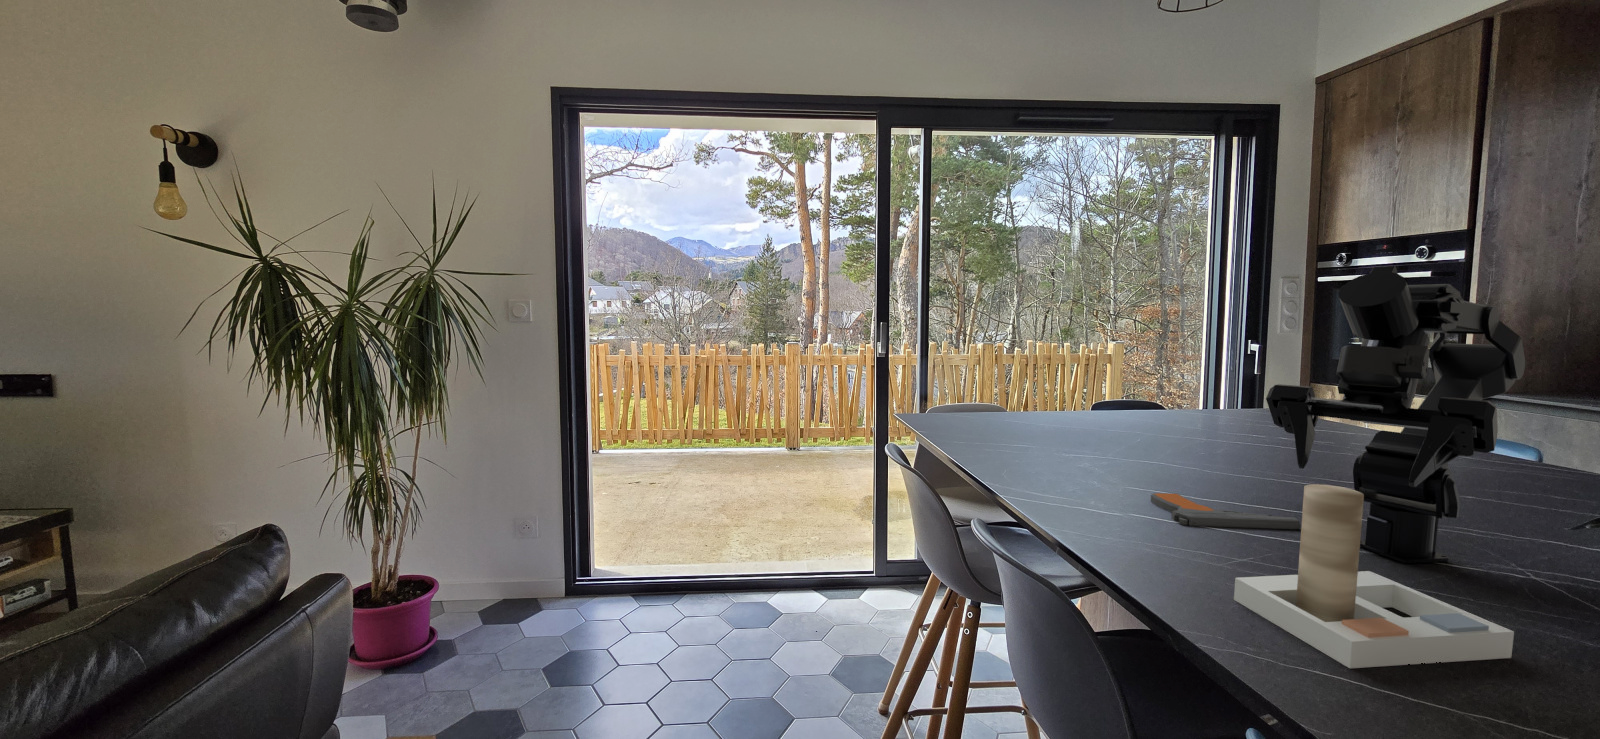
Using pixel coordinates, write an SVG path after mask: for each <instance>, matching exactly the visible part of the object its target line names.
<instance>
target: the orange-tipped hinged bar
mask: <svg viewBox="0 0 1600 739" xmlns="http://www.w3.org/2000/svg"><path fill="white" fill-rule="evenodd" d="M1150 502H1151V503H1152V504H1153V505H1155V506H1156V507H1158V508H1161V509H1162V510H1164V511H1168V512H1169V513H1171V514H1170V515H1171V520H1173V521H1174V522H1176V523H1177V522H1178V524H1180V525H1184V526H1187V525H1188V526H1189V527H1190V526H1191V527H1193V526H1195V527H1214V528H1215V527H1219V528H1220V527H1221V528H1241V529H1242V528H1246V529H1247V528H1248V529H1271V530H1272V529H1273V530H1296V529H1299V530H1301V523H1300V520H1299V519H1298V518H1296V517H1293V516H1275V515H1273V516H1272V514H1268V513H1267V514H1265V513H1264V514H1263V513H1247V512H1243V511H1242V512H1241V511H1234V510H1224V509H1216V508H1212V507H1210V506H1207V505H1204V504H1203V505H1202V504H1199V503H1197V502H1195V501H1192V500H1190V499H1188V498H1186V497H1184V496H1182V495H1181V494H1179V493H1173V492H1172V493H1170V492H1169V493H1168V492H1163V493H1162V492H1157V493H1156V492H1155V493H1152V494H1151V495H1150Z"/></svg>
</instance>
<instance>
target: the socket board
mask: <svg viewBox="0 0 1600 739" xmlns="http://www.w3.org/2000/svg"><path fill="white" fill-rule="evenodd" d="M1297 583H1298V574H1287V575H1286V574H1284V575H1263V576H1244V577H1241V576H1240V577H1235V580H1234V594H1233V600H1234V601H1235V602H1237V603H1239V604H1240V605H1242V606H1244V607H1245V608H1247V609H1249V610H1250V611H1251V612H1254V613H1255V614H1257V615H1259V616H1260V617H1262V618H1264V619H1266V620H1267V621H1269V622H1271V623H1272V624H1274V625H1276V626H1277V627H1279V628H1281V629H1282V630H1284V631H1285V632H1288V633H1289V634H1291V635H1293V636H1294V637H1296V638H1298V639H1299V640H1301V641H1303V642H1304V643H1306V644H1308V645H1310V646H1311V647H1313V648H1314V649H1316V650H1318V651H1320V653H1321V652H1322V653H1323V654H1324V655H1327V656H1328V657H1330V658H1331V659H1333V660H1335V661H1336V662H1338V663H1340V664H1342V665H1343V666H1345V667H1346V668H1348V669H1361V668H1364V669H1365V668H1375V667H1376V668H1377V667H1390V666H1391V667H1393V666H1408V664H1410V665H1422V664H1421V663H1423V664H1424V663H1425V664H1438V663H1439V662H1441V663H1451V662H1452V663H1453V662H1467V661H1468V662H1469V661H1485V660H1498V659H1512V656H1513V654H1512V653H1513V646H1514V637H1515V631H1514V630H1511V629H1509V628H1506V627H1504V626H1502V625H1500V624H1497V623H1495V622H1492V621H1489V620H1487V619H1485V618H1483V617H1480V616H1478V615H1476V614H1473V613H1470V612H1468V611H1465V610H1464V609H1461V608H1459V607H1456V606H1453V605H1452V604H1450V603H1447V602H1444V601H1443V600H1439V599H1437V598H1435V597H1432V596H1430V595H1428V594H1425V593H1423V592H1420V591H1419V590H1416V589H1413V588H1411V587H1408V586H1405V585H1403V583H1400V582H1396V581H1394V580H1392V579H1389V578H1388V577H1384V576H1383V575H1380V574H1377V573H1376V572H1373V571H1370V570H1365V571H1362V570H1361V571H1358V576H1357V588H1356V600H1355V613H1354V619H1348V620H1342V621H1337V622H1324V621H1322V620H1320V619H1319V618H1317V617H1315V616H1313V615H1311V614H1309V613H1307V612H1306V611H1304V610H1302V609H1300V608H1298V607H1296V597H1297ZM1385 608H1392V609H1395V610H1398V611H1399V612H1402V613H1403V614H1406V615H1408V617H1403V616H1400V615H1398V614H1396V613H1395V612H1392V611H1390V610H1387V609H1385ZM1409 616H1410V617H1409ZM1436 662H1437V663H1436ZM1439 664H1440V663H1439Z"/></svg>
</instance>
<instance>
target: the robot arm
mask: <svg viewBox="0 0 1600 739" xmlns="http://www.w3.org/2000/svg"><path fill="white" fill-rule="evenodd" d="M1338 298H1339V301H1340V303H1341V306H1342V309H1343V311H1344V314H1345V317H1346V319H1347V321H1348V324H1349V327H1350V329H1351V331H1352V334H1353V336H1354V337H1358V338H1361V339H1362V342H1361V345H1344V346H1342V347H1341V349H1340V354H1339V359H1338V363H1337V364H1338V365H1337V368H1336V373H1335V374H1336V375H1337V376H1339V378H1340V379H1339V381H1338V385H1337V391H1338V394H1339V395H1343V397H1342V399H1333V398H1323V397H1316V395H1315V392H1314V391H1315V390H1314V387H1313V386H1306V385H1295V384H1294V385H1292V384H1280V383H1278V384H1274V385H1273V386H1271V388H1269V390H1268V393H1267V395H1266V398H1265V399H1266V402H1267V406H1268V409H1269V411H1270V415H1271V417H1272V421H1273V424H1274V425H1275V426H1278V427H1279V428H1283V429H1284V431H1285V432H1286V433H1287V434H1292V435H1294V436H1293V437H1294V444H1295V451H1296V452H1295V453H1296V459H1297V460H1296V461H1297V465H1298V468H1299V469H1302V470H1303V469H1305V468H1306V466H1307V464H1308V463H1309V462H1308V461H1309V458H1310V455H1311V452H1312V448H1313V445H1314V442H1315V438H1316V430H1315V427H1317V423H1318V420H1319V417H1325V418H1334V419H1344V420H1350V421H1356V422H1362V423H1364V424H1370V425H1378V426H1379V425H1381V426H1388V427H1389V426H1390V427H1391V426H1392V427H1399V428H1402V430H1401V431H1400V432H1399V431H1398V432H1397V431H1390V430H1380V431H1378V432H1376V433H1375V434H1374V437H1373V438H1372V440H1371V441H1370V442H1369V443H1368V444H1367V445H1365V446H1364V447H1365V448H1364V449H1365V451H1363V453H1362V454H1360V455H1358V456H1357V457H1356V459H1355V461H1354V464H1353V468H1352V477H1353V487H1354V488H1353V490H1356V491H1359V492H1361V493H1363V494H1364V501H1363V502H1366V503H1369V512H1368V515H1367V516H1366V524H1365V525H1366V527H1365V539H1360V548H1363V549H1366V550H1368V551H1370V552H1374V553H1375V554H1379V555H1381V556H1384V557H1387V558H1390V559H1392V560H1395V561H1397V562H1400V563H1404V564H1416V563H1419V564H1420V563H1436V562H1439V563H1440V562H1449V561H1450V557H1449V556H1447V555H1444V554H1442V553H1439V552H1437V551H1436V550H1437V543H1438V534H1439V533H1438V531H1439V522H1440V520H1439V519H1446V518H1451V519H1453V518H1454V519H1458V518H1459V516H1460V514H1459V513H1460V506H1461V505H1460V504H1461V503H1460V498H1461V496H1460V492H1459V490H1458V487H1457V484H1456V481H1455V479H1454V475H1453V473H1452V470H1451V469H1450V466H1449V462H1451V461H1453V460H1455V459H1457V458H1458V457H1460V456H1461V457H1463V456H1464V457H1472V456H1474V454H1475V452H1476V453H1485V454H1487V453H1491V452H1493V451H1495V448H1496V445H1497V444H1496V443H1497V439H1498V434H1499V433H1498V432H1499V430H1498V428H1499V427H1498V408H1497V406H1496V405H1495V404H1494V403H1492V401H1490V400H1488V399H1490V398H1493V397H1497V396H1500V395H1503V394H1506V393H1507V392H1508V391H1509V390H1510V389H1511V387H1513V385H1514V384H1515V382H1516V380H1517V381H1518V380H1519V381H1520V380H1521V379H1522V378H1523V376H1524V372H1525V368H1526V356H1525V352H1524V345H1523V339H1522V337H1521V335H1519V334H1518V333H1516V332H1515V331H1514V330H1513V329H1511V328H1510V327H1509V326H1508V325H1506V324H1505V323H1503V322H1502V321H1501V320H1500V317H1499V316H1500V315H1499V310H1498V307H1497V306H1496V305H1489V304H1487V303H1486V304H1484V303H1483V304H1481V303H1476V302H1472V301H1466V300H1464V298H1462V296H1461V292H1460V291H1459V290H1458V289H1457V288H1455V287H1454V286H1453V285H1451V284H1450V283H1437V284H1436V283H1435V284H1409V285H1408V282H1407V280H1406V278H1405V277H1404V276H1402V275H1401V274H1399V272H1398V270H1397V267H1396V266H1395V265H1389V266H1373V267H1372V269H1371V271H1370V272H1369V273H1365V274H1362V275H1360V276H1356V277H1354V278H1352V279H1351V280H1349V281H1348V282H1347V283H1345V284H1343V285H1341V286H1340V288H1339V290H1338ZM1428 333H1437V334H1436V335H1435V338H1433V341H1432V343H1431V345H1430V342H1431V339H1430V337H1429V334H1428ZM1448 334H1452V335H1453V334H1456V335H1457V334H1458V335H1459V334H1460V335H1462V334H1463V335H1465V334H1466V335H1484V336H1485V339H1486V340H1487V341H1488V342H1490V343H1491V344H1482V343H1481V344H1478V343H1477V344H1476V343H1473V344H1471V343H1452V342H1451V343H1447V342H1446V343H1445V344H1444V343H1443V341H1444V340H1445V338H1446V336H1447V335H1448ZM1429 362H1430V365H1431V370H1432V373H1433V375H1434V378H1435V384H1434V385H1433V387H1432V388H1431V390H1430V391H1429V392H1428V394H1427V395H1426V396H1425V398H1424V399H1423V401H1421V404H1420V405H1419V406H1418V408H1412V405H1413V400H1414V398H1415V397H1416V393H1417V387H1418V384H1419V380H1425V379H1426V378H1427V374H1428V370H1429V369H1428V368H1429ZM1485 399H1487V400H1485Z"/></svg>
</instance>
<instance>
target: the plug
mask: <svg viewBox="0 0 1600 739" xmlns="http://www.w3.org/2000/svg"><path fill="white" fill-rule="evenodd" d="M1364 502H1365V501H1364V494H1363V493H1361V492H1359V491H1356V490H1354V489H1352V488H1348V487H1343V486H1338V485H1337V486H1336V485H1329V484H1318V483H1317V484H1314V483H1313V484H1307V485H1304V487H1303V500H1302V511H1301V512H1302V513H1301V515H1302V516H1301V525H1300V542H1299V544H1300V545H1299V554H1298V555H1299V557H1298V569H1297V570H1298V572H1297V575H1298V583H1297V597H1296V607H1298V608H1300V609H1302V610H1304V611H1306V612H1307V613H1309V614H1311V615H1313V616H1315V617H1317V618H1319V619H1320V620H1322V621H1324V622H1337V621H1342V620H1348V619H1354V613H1355V600H1356V588H1357V576H1358V572H1359V561H1360V551H1361V550H1360V548H1361V547H1360V540H1361V537H1362V523H1363V512H1364Z"/></svg>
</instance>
